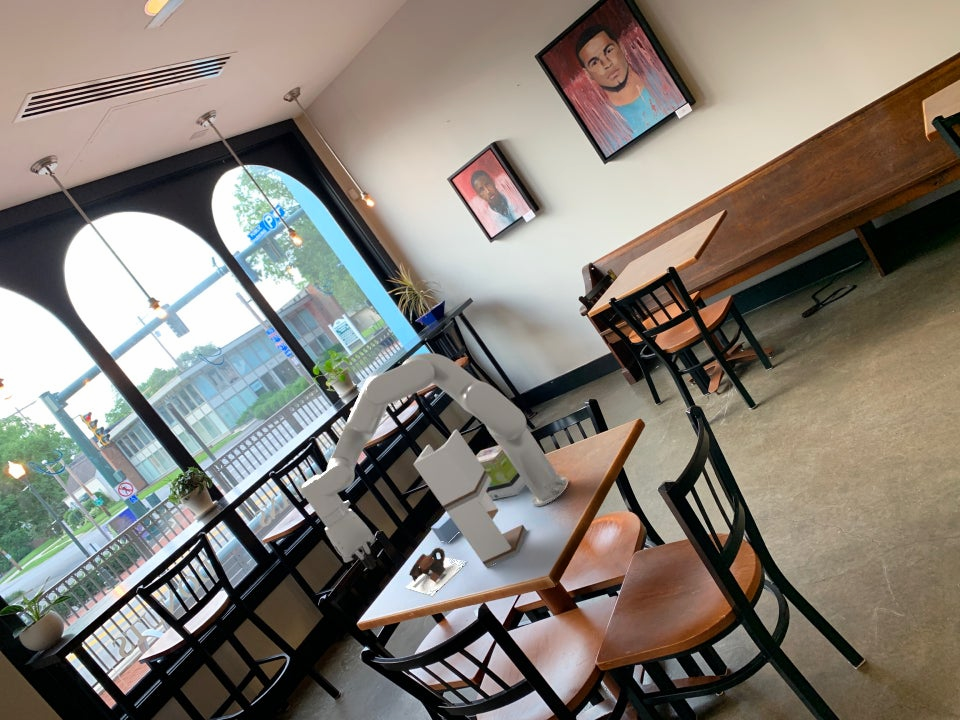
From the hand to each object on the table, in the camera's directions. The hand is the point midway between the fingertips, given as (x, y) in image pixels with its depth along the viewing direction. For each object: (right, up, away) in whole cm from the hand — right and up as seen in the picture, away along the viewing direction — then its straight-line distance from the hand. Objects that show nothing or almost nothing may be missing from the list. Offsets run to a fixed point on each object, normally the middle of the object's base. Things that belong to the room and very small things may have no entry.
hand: (372, 566), depth 206 cm
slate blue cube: (+21, +1, +30) cm, 36 cm away
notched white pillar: (+38, +6, -5) cm, 39 cm away
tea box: (+41, +15, +36) cm, 56 cm away
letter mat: (+17, -5, +8) cm, 20 cm away
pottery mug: (+17, -5, +8) cm, 20 cm away
